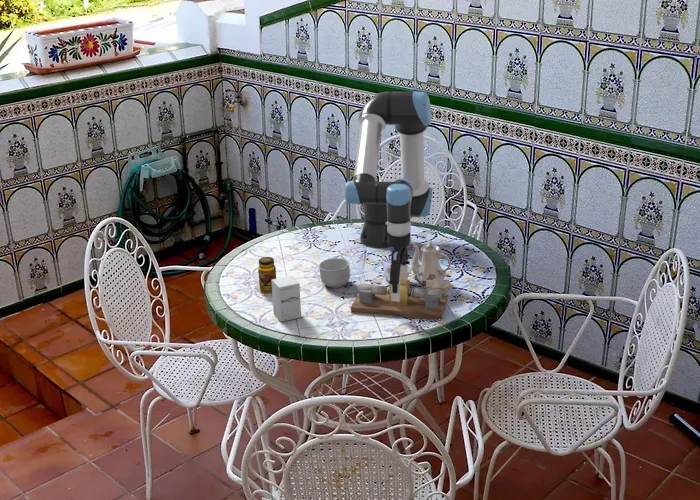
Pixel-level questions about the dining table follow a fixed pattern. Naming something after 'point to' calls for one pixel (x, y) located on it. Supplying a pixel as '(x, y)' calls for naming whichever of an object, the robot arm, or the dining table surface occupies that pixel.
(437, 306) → the rig
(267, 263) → the condiment
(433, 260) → the chinaware
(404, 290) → the block
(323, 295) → the dining table surface
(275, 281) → the supplement box
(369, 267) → the dining table surface
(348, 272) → the teacup
